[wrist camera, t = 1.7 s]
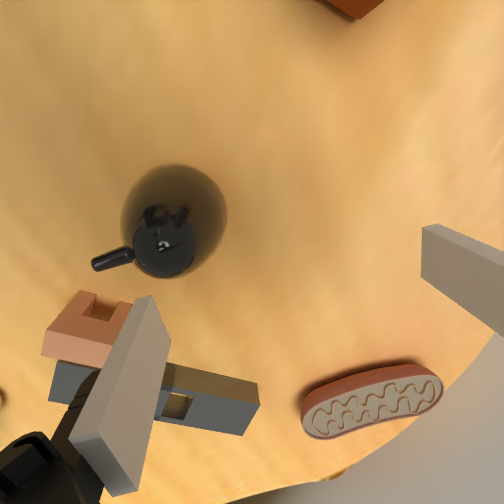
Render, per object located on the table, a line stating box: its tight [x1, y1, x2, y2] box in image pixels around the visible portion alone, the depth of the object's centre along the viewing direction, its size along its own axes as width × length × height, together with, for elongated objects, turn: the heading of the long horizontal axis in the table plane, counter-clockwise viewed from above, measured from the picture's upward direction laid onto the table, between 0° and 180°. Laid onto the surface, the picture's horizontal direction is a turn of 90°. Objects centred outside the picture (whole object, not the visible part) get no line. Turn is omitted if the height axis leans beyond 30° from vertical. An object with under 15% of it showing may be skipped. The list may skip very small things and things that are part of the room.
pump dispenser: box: [91, 164, 227, 280], centre depth 27 cm, size 10×10×15 cm
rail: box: [48, 359, 260, 436], centre depth 42 cm, size 28×7×4 cm, turn 67°
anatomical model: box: [301, 364, 444, 440], centre depth 47 cm, size 23×10×5 cm, turn 104°
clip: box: [41, 290, 133, 368], centre depth 35 cm, size 7×4×8 cm, turn 67°
